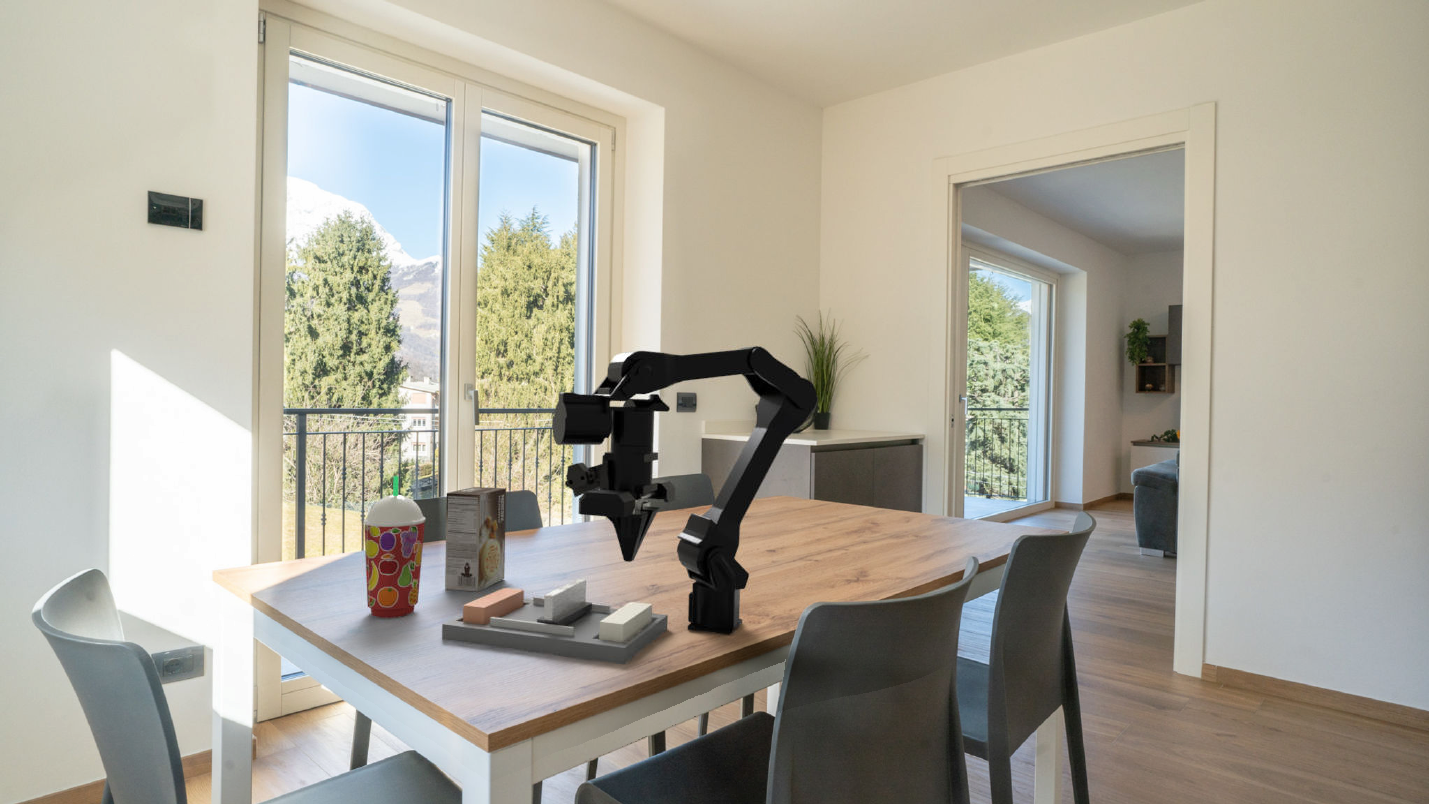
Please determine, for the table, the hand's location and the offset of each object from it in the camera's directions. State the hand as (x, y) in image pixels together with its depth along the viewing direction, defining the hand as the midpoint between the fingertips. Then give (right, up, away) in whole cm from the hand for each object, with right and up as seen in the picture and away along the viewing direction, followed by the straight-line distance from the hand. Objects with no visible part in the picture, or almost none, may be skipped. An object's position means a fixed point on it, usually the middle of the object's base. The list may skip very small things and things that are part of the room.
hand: (628, 561), depth 102 cm
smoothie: (-36, -10, +9) cm, 38 cm away
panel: (-10, -10, +1) cm, 14 cm away
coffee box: (-29, -10, +27) cm, 41 cm away
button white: (0, -9, -2) cm, 9 cm away
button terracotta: (-19, -8, +4) cm, 21 cm away
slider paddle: (-9, -8, +1) cm, 12 cm away
